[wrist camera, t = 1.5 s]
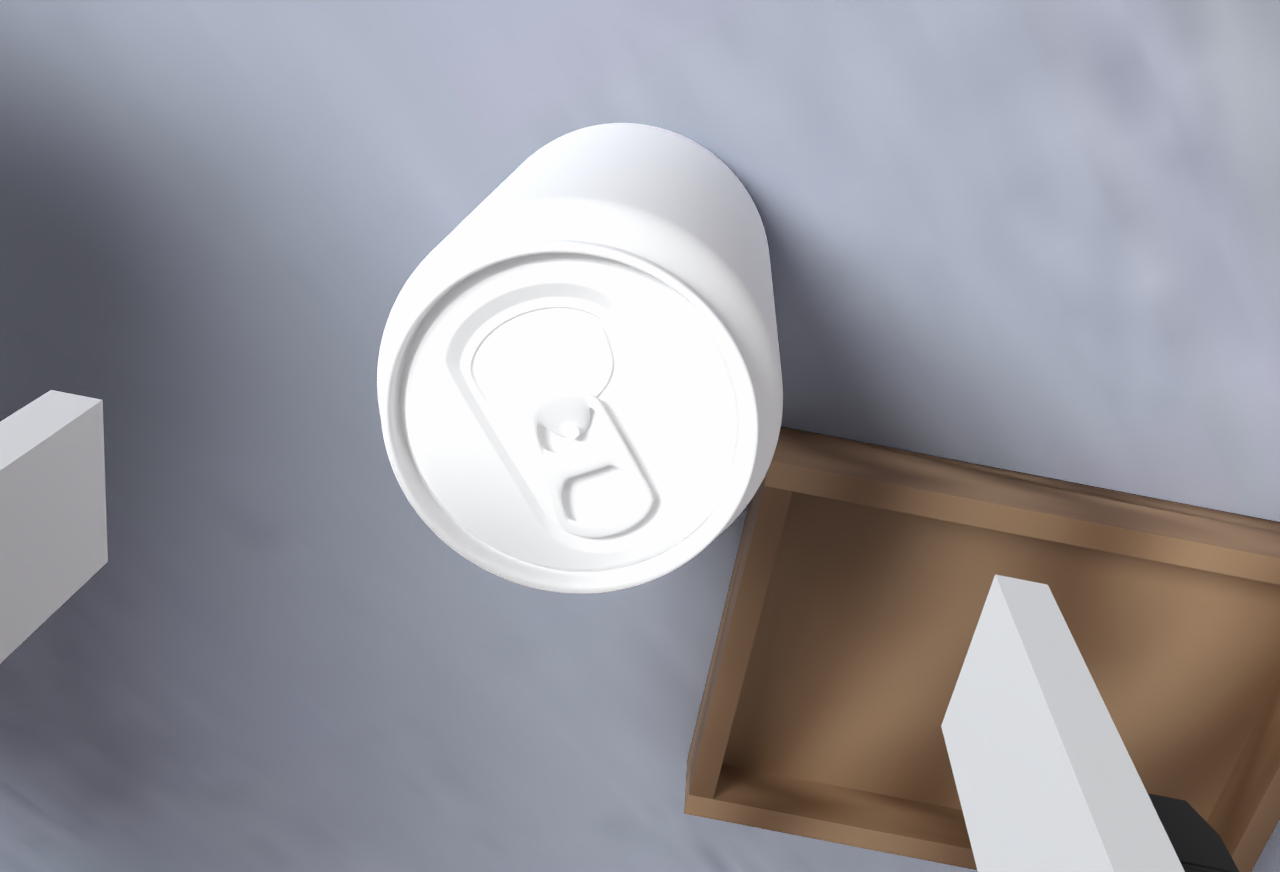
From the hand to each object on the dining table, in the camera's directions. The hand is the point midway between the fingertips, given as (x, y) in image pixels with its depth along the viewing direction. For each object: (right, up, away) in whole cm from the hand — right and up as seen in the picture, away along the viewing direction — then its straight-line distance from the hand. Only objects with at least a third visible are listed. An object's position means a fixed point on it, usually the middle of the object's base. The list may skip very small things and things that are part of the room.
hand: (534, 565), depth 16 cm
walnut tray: (+13, -5, +19) cm, 24 cm away
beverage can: (+1, +7, +15) cm, 17 cm away
